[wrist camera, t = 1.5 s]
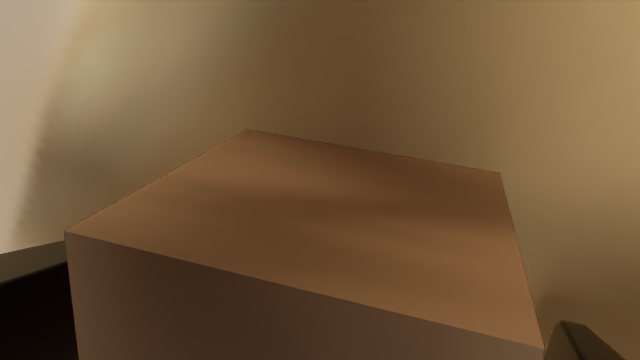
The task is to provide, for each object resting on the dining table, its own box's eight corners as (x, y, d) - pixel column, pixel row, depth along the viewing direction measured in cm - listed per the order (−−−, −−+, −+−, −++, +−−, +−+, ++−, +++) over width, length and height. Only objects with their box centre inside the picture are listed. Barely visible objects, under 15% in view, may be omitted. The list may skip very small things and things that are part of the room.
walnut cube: (499, 171, 9) (545, 349, 4) (447, 380, 10) (438, 665, 6) (248, 128, 10) (64, 230, 5) (240, 325, 12) (99, 528, 7)
